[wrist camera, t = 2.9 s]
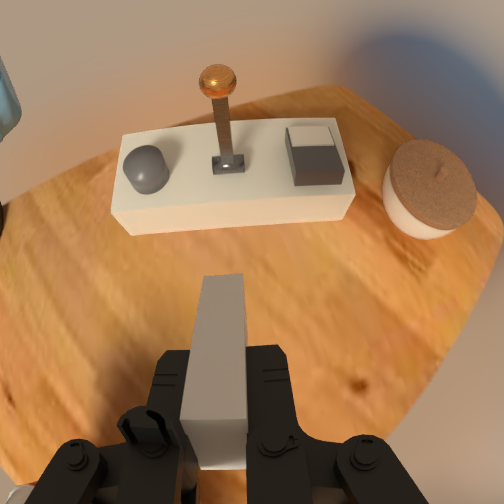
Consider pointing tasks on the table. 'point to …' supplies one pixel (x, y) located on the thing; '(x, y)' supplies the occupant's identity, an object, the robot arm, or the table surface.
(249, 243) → the table surface
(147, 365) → the table surface
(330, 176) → the block
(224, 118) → the lever
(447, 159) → the lidded jar
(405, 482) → the robot arm
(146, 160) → the button
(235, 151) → the console
